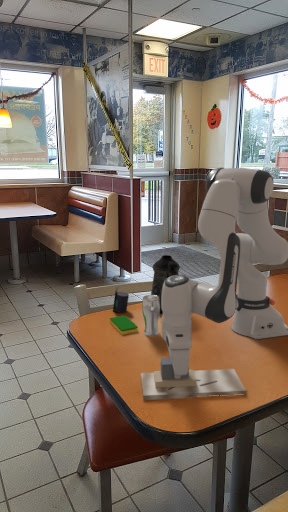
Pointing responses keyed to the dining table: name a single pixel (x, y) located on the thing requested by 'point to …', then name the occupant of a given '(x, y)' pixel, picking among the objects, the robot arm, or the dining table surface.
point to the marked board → (205, 386)
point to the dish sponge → (123, 324)
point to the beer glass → (151, 314)
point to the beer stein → (163, 274)
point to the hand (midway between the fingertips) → (176, 372)
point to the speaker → (120, 301)
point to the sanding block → (172, 376)
